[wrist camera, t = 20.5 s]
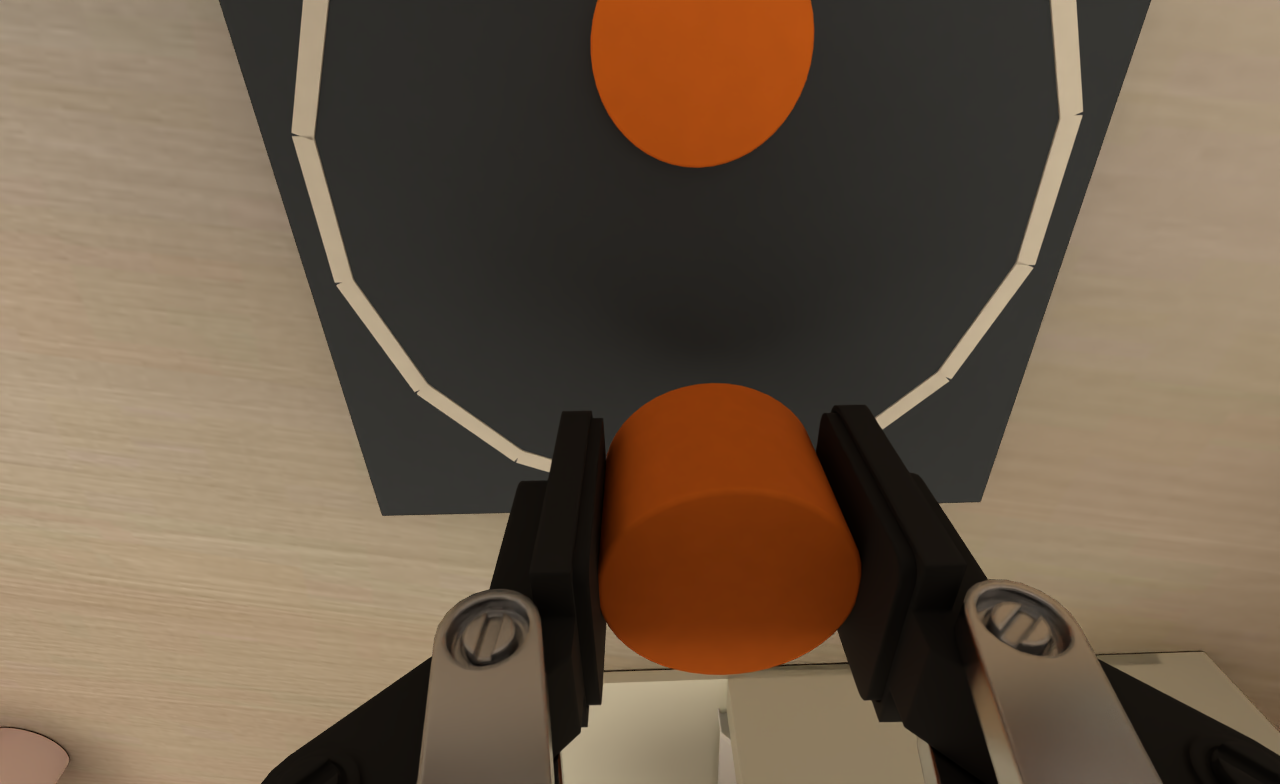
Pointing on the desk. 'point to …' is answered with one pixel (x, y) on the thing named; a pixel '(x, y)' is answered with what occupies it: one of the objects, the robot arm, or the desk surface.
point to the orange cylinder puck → (700, 73)
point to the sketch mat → (674, 226)
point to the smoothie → (30, 758)
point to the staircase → (811, 724)
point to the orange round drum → (721, 534)
